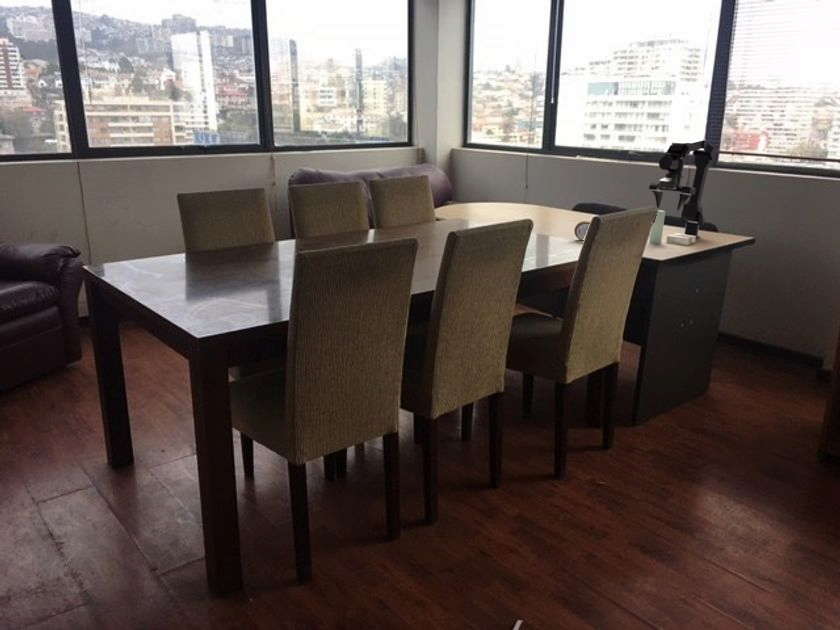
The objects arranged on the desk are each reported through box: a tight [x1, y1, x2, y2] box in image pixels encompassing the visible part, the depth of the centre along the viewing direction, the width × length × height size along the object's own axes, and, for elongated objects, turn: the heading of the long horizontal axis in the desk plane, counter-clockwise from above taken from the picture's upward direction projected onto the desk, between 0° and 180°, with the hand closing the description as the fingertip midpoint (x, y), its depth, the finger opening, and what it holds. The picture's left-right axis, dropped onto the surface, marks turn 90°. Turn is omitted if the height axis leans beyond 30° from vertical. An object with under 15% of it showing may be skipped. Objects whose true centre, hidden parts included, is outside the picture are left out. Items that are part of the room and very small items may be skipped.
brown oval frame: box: [574, 220, 591, 241], centre depth 301 cm, size 15×3×8 cm, turn 84°
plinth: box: [666, 232, 697, 246], centre depth 303 cm, size 9×9×3 cm
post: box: [648, 209, 666, 245], centre depth 299 cm, size 5×5×14 cm
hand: (667, 209), depth 295 cm, fingers open, 9 cm apart
